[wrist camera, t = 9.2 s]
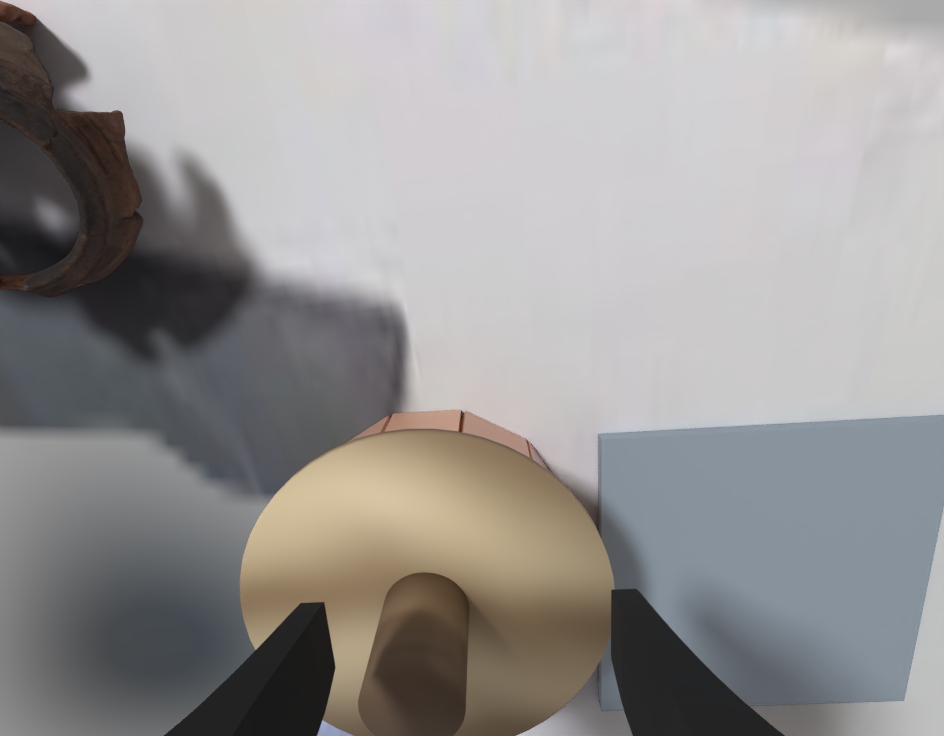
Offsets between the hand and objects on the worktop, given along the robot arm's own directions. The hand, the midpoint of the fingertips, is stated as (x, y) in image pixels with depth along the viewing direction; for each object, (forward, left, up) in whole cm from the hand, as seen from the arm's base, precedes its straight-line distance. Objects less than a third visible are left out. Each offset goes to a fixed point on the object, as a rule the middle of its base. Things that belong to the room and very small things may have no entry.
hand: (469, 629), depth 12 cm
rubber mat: (-7, -13, -10) cm, 18 cm away
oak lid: (-4, +2, -6) cm, 7 cm away
